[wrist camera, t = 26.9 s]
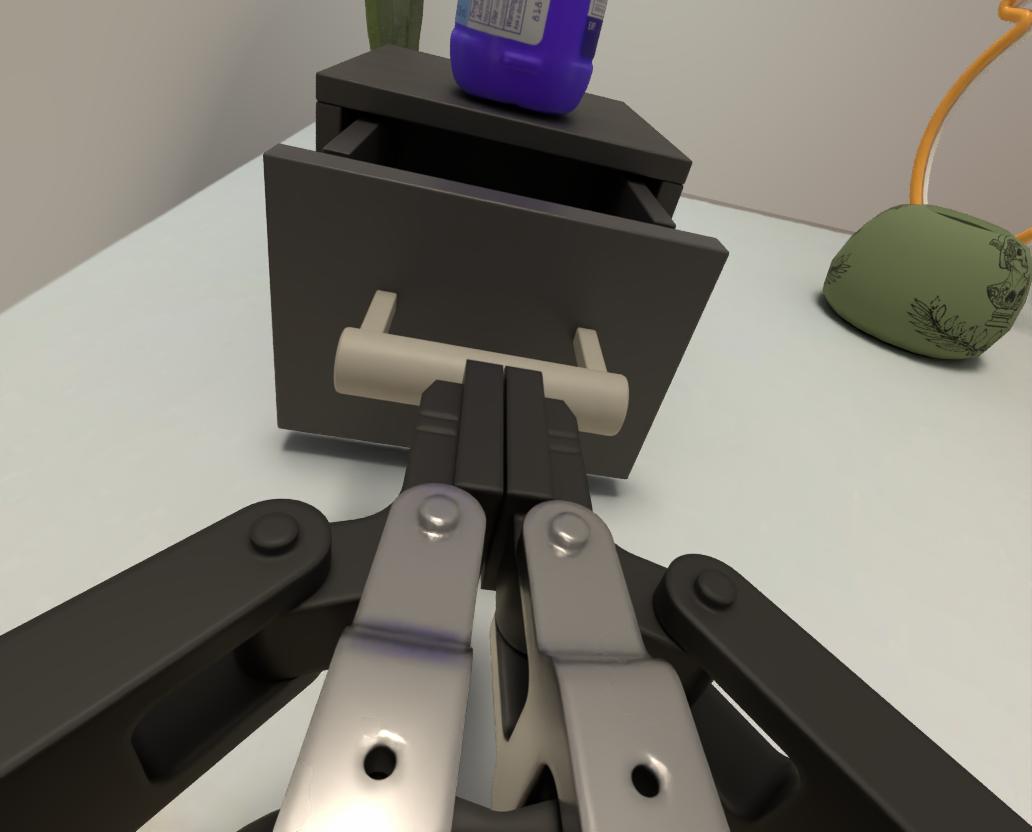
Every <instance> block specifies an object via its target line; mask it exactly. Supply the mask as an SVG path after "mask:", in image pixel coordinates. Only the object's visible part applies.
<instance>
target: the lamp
mask: <svg viewBox="0 0 1032 832" xmlns="http://www.w3.org/2000/svg"><path fill="white" fill-rule="evenodd" d="M1030 2H1032V0H1002V1H1001V3H1000V5H999V8H998V16H999V18H1000V19H1002V20H1004V21H1007V22H1009V23H1013V24H1016V25H1015V26H1014V27H1013V28H1012V29H1011V30H1009V31H1008V32H1007V33H1006V34H1004V35H1003V36H1002V37H1001V38H999V39H998V40H997V41H996V42H995V43H993V44H992V45H991V46H990V47H989V48H988V49H987V50H986V51H985V52H984V53H983V54H981V55H980V56H979V57H978V58H977V59H976V60H975V61H974V62H973V63H972V64H971V65H970V66H969V68H968V69H967V70H966V71H965V72H964V73H963V74H962V75H961V76H960V77H959V79H958V80H957V81H956V82H955V83H954V85H953V86H952V87H951V88H950V90H949V91H948V93H947V94H946V95H945V97H944V98H943V100H942V101H941V103H940V104H939V106H938V107H937V109H936V111H935V112H934V114H933V116H932V118H931V120H930V121H929V123H928V126H927V128H926V130H925V132H924V134H923V137H922V139H921V142H920V144H919V147H918V150H917V154H916V157H915V161H914V166H913V171H912V178H911V184H910V204H928V197H927V196H928V195H927V194H928V183H929V176H930V170H931V165H932V161H933V158H934V154H935V151H936V148H937V145H938V143H939V140H940V138H941V136H942V134H943V131H944V130H945V127H946V125H947V124H948V122H949V120H950V118H951V116H952V115H953V113H954V112H955V110H956V109H957V107H958V106H959V104H960V103H961V101H962V100H963V98H964V97H965V96H966V95H967V93H968V92H969V91H970V90H971V89H972V87H973V86H974V85H975V84H976V83H977V82H978V81H979V80H980V79H981V77H982V76H983V75H984V74H985V73H986V72H987V71H988V70H989V69H990V68H992V67H993V66H994V65H995V64H996V63H997V62H998V61H999V60H1000V59H1001V58H1003V57H1004V56H1005V55H1006V54H1007V53H1008V52H1010V51H1011V50H1012V49H1013V48H1015V47H1016V46H1017V45H1018V44H1020V43H1021V42H1022V41H1023V40H1025V39H1026V38H1027V37H1029V36H1030V35H1031V34H1032V9H1026V8H1023V7H1024V6H1025V5H1027V4H1028V3H1030ZM1015 237H1016V238H1017V239H1019V240H1020V241H1021V242H1022V243H1024V244H1025V245H1026V246H1028V245H1031V244H1032V227H1031V228H1029V229H1028V230H1026V231H1024V232H1022V233H1020V234H1018V235H1016V236H1015Z"/></svg>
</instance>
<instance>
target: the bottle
mask: <svg viewBox="0 0 1032 832" xmlns="http://www.w3.org/2000/svg"><path fill="white" fill-rule="evenodd" d="M607 1H608V0H458V3H457V11H456V17H455V28H454V29H453V31H452V33H451V39H450V58H451V68H452V73H453V77H454V79H455V81H456V83H457V84H458V85H459V87H460V88H461V89H463V90H464V91H465V92H467V93H468V94H470V95H472V96H475V97H478V98H482V99H488V100H492V101H495V102H499V103H503V104H514V105H516V106H518V107H520V108H523V109H528V110H532V111H535V112H539V113H543V114H551V115H562V114H567V113H569V112H571V111H573V110H574V109H575V108H576V107H577V106H578V104H579V103H580V101H581V99H582V97H583V95H584V93H585V91H586V89H587V86H588V84H589V81H590V78H591V75H592V71H593V65H592V60H593V58H594V55H595V51H596V47H597V43H598V39H599V35H600V31H601V27H602V23H603V18H604V14H605V10H606V5H607Z"/></svg>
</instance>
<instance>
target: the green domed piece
mask: <svg viewBox="0 0 1032 832" xmlns="http://www.w3.org/2000/svg"><path fill="white" fill-rule="evenodd" d="M1031 282H1032V257H1031V253H1030V250H1029V248H1028V247H1027V246H1026V245H1025V244H1024V243H1022V242H1021V241H1020V240H1019V239H1017V238H1016V237H1015V236H1014V235H1012V234H1011V233H1010V232H1009V231H1007V230H1005V229H1003V228H1001V227H999V226H996V225H994V224H992V223H989V222H987V221H984V220H981V219H979V218H976V217H973V216H970V215H967V214H964V213H961V212H957V211H954V210H951V209H947V208H942V207H939V206H934V205H928V204H905V205H898V206H895V207H892V208H890V209H888V210H885V211H883V212H881V213H880V214H879V215H877V216H876V217H874V218H873V219H872V220H870V221H869V222H867V223H866V224H865V225H864V226H863V227H862V228H861V229H859V230H858V231H857V232H856V233H855V234H854V235H852V236H851V238H850V239H849V240H848V241H847V242H846V244H845V245H844V246H843V247H842V249H841V250H840V251H839V252H838V254H837V255H836V256H835V257H834V258H833V260H832V262H831V265H830V268H829V271H828V273H827V276H826V279H825V282H824V287H823V292H824V294H825V297H826V299H827V301H828V303H829V305H830V306H831V307H832V308H833V309H834V310H835V312H836V313H837V314H838V315H839V316H841V317H842V318H844V319H845V320H846V321H848V322H849V323H851V324H852V325H854V326H855V327H857V328H858V329H860V330H862V331H864V332H866V333H868V334H870V335H872V336H874V337H876V338H878V339H880V340H882V341H884V342H887V343H889V344H892V345H895V346H897V347H900V348H903V349H905V350H908V351H910V352H913V353H917V354H921V355H926V356H930V357H934V358H938V359H964V358H971V357H978V356H979V355H981V354H982V353H983V352H985V351H986V350H987V349H988V348H990V347H991V346H992V345H993V344H994V343H995V342H997V341H998V340H999V339H1000V338H1001V337H1002V336H1004V335H1005V334H1006V333H1007V332H1008V331H1009V330H1010V329H1011V327H1012V325H1013V324H1014V322H1015V320H1016V318H1017V316H1018V315H1019V313H1020V311H1021V309H1022V307H1023V306H1024V304H1025V302H1026V299H1027V296H1028V292H1029V289H1030V285H1031Z"/></svg>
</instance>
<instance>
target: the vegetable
mask: <svg viewBox="0 0 1032 832" xmlns="http://www.w3.org/2000/svg"><path fill="white" fill-rule="evenodd" d="M423 1H424V0H365V7H366V20H367V30H368V37H369V43H370V50H371V51H372V50H374V49H377V48H379V47H382V46H384V45H387V44H391V45H395V46H399V47H403V48H407V49H411V50H415V51H418V50H419V39H420V31H421V25H422V16H423Z"/></svg>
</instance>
